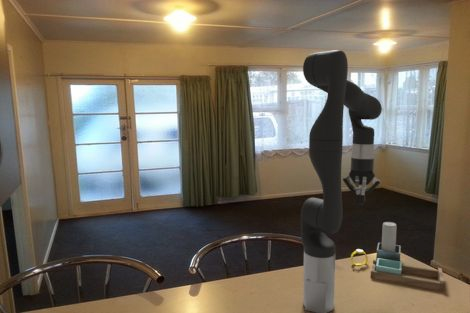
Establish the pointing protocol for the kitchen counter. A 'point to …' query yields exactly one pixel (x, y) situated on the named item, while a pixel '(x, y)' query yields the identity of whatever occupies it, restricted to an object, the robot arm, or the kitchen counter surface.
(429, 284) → the bay
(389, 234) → the beverage can
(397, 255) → the open metal box
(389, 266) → the box
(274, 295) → the kitchen counter surface
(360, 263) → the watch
